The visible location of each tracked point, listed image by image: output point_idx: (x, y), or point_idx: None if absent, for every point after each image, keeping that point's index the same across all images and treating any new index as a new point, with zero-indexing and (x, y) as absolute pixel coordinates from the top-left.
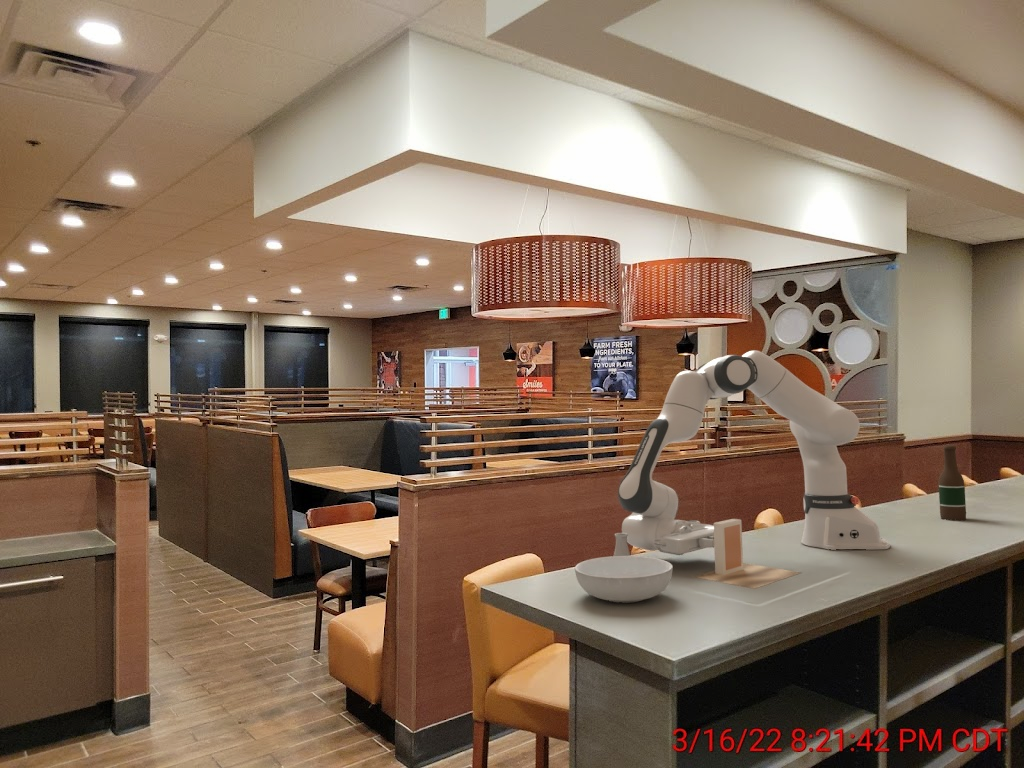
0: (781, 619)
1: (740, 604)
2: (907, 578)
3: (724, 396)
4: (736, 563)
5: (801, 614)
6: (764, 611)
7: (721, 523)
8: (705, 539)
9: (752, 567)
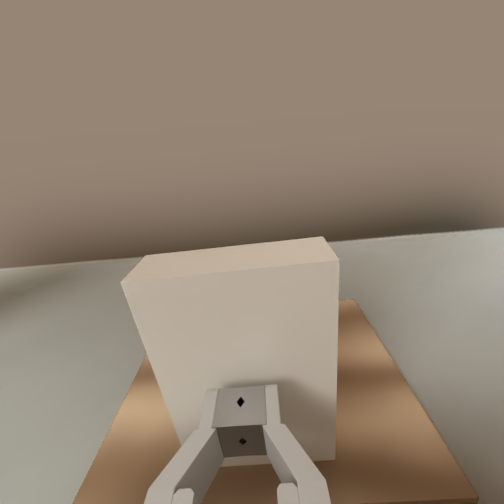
0: (417, 237)
1: (441, 275)
2: (132, 259)
3: None
4: None
5: (377, 239)
6: (419, 252)
7: (314, 241)
8: (312, 464)
9: (152, 420)
